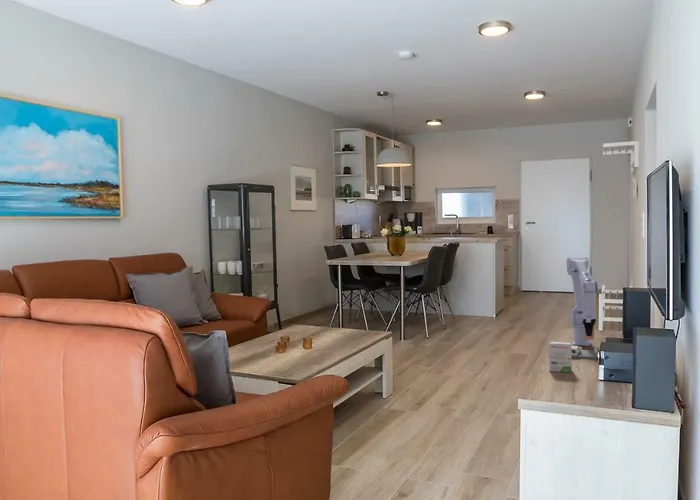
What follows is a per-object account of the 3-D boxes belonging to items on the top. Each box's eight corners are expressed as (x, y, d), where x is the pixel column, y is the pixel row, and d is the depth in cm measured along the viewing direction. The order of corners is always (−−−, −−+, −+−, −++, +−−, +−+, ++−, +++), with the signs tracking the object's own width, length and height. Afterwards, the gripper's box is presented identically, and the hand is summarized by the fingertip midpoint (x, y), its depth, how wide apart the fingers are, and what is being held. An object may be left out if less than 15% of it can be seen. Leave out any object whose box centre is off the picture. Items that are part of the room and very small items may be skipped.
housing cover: (566, 351, 272) (566, 345, 272) (578, 352, 270) (578, 345, 270) (565, 354, 267) (565, 347, 267) (577, 355, 265) (577, 348, 265)
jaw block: (585, 337, 279) (585, 327, 278) (594, 338, 277) (594, 327, 277) (584, 339, 275) (584, 328, 275) (593, 339, 273) (593, 329, 273)
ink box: (571, 370, 244) (571, 342, 243) (570, 373, 239) (570, 344, 239) (550, 368, 247) (550, 340, 247) (549, 371, 243) (548, 343, 242)
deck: (566, 350, 279) (566, 342, 278) (598, 352, 273) (598, 344, 272) (563, 357, 266) (563, 348, 266) (597, 359, 260) (597, 350, 260)
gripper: (581, 303, 284) (581, 331, 284) (578, 308, 270) (579, 337, 271) (596, 304, 280) (597, 332, 281) (595, 309, 267) (595, 338, 268)
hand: (589, 335), depth 276 cm, fingers closed on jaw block, 4 cm apart
